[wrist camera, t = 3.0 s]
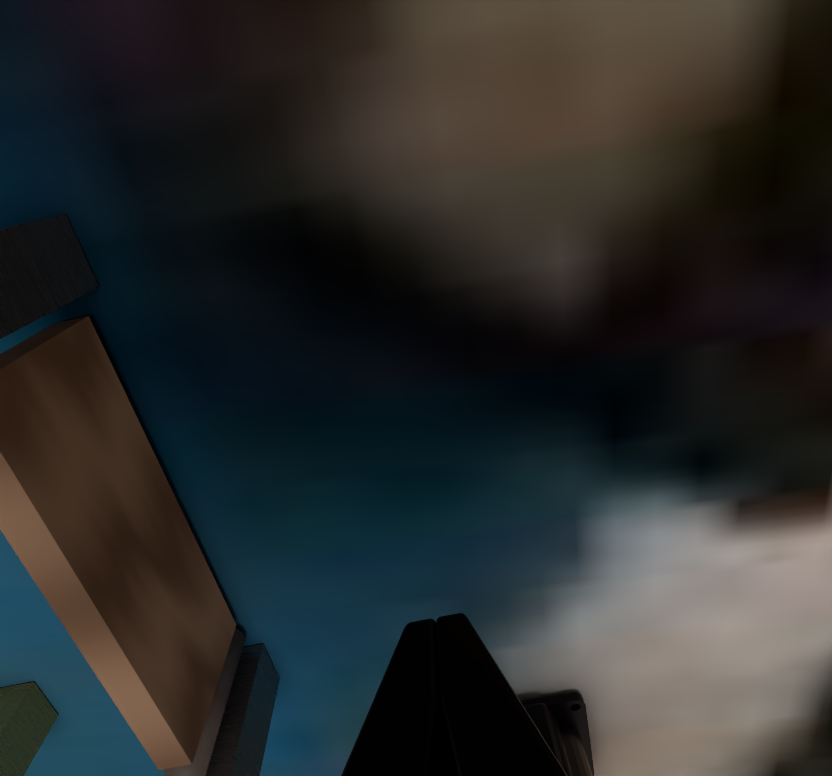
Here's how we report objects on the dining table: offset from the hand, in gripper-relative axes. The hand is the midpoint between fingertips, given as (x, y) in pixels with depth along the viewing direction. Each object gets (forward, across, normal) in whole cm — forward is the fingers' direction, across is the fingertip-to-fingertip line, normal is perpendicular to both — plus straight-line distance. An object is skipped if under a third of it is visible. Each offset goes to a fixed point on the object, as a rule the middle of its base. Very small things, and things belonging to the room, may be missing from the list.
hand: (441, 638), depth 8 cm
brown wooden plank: (+13, +11, +5) cm, 18 cm away
